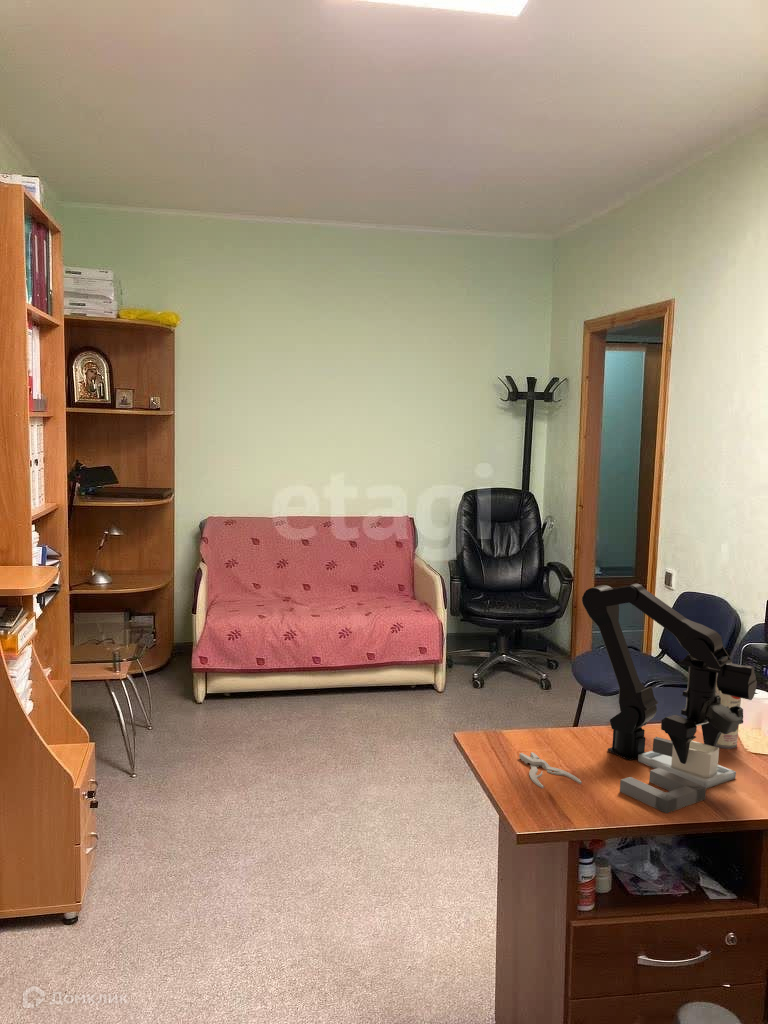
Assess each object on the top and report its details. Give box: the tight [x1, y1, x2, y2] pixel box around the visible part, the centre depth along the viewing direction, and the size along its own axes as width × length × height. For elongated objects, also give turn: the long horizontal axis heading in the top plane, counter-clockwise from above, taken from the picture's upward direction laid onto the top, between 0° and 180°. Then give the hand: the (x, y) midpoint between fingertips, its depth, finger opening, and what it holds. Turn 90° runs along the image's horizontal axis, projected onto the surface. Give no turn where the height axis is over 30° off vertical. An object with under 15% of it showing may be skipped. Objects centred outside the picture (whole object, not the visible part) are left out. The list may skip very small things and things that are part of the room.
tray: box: [637, 750, 737, 790], centre depth 176 cm, size 17×11×2 cm
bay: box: [619, 768, 707, 814], centre depth 162 cm, size 11×12×2 cm
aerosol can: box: [715, 661, 742, 750], centre depth 192 cm, size 7×7×20 cm
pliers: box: [518, 751, 583, 789], centre depth 172 cm, size 10×2×15 cm
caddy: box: [652, 736, 720, 779], centre depth 175 cm, size 13×6×6 cm, turn 51°
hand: (696, 759), depth 173 cm, fingers open, 9 cm apart
